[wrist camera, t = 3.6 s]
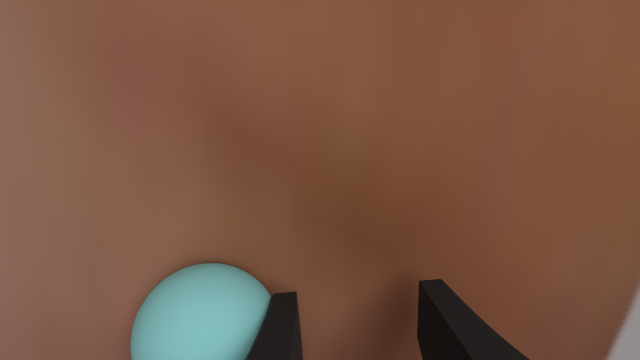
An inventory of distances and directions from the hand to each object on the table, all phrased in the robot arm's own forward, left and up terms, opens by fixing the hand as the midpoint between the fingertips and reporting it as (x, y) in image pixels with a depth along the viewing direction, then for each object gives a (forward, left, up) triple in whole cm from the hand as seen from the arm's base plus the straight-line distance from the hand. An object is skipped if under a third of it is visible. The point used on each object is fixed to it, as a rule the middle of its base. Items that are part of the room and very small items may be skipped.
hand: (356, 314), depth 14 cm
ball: (0, +4, -2) cm, 4 cm away
